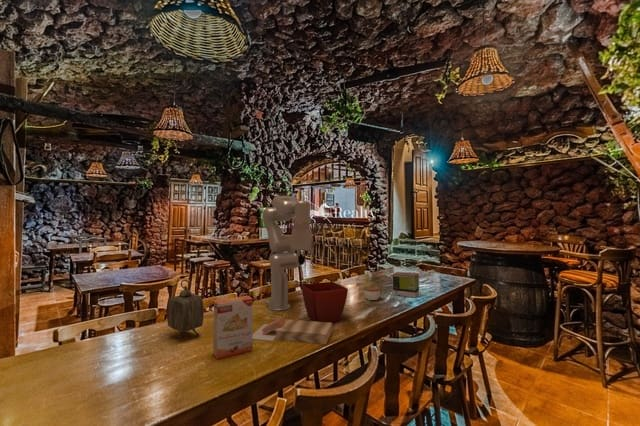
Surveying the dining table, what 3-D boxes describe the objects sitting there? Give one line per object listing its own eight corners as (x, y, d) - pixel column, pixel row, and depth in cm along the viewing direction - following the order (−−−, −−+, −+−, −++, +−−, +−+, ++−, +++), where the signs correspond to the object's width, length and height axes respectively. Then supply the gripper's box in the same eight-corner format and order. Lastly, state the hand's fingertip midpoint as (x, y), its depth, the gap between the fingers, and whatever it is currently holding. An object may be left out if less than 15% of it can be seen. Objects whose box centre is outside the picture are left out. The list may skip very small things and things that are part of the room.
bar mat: (248, 339, 129) (248, 338, 129) (264, 324, 147) (264, 323, 147) (272, 341, 127) (272, 340, 127) (285, 326, 145) (285, 325, 145)
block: (264, 334, 133) (261, 329, 133) (269, 329, 139) (266, 324, 139) (281, 326, 132) (278, 321, 132) (285, 321, 137) (283, 316, 138)
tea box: (419, 295, 201) (419, 273, 202) (415, 298, 193) (415, 275, 193) (397, 292, 209) (397, 271, 210) (392, 295, 201) (392, 273, 201)
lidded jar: (362, 301, 187) (362, 286, 187) (364, 297, 197) (364, 282, 197) (379, 302, 183) (379, 287, 184) (381, 298, 194) (381, 283, 194)
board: (276, 339, 129) (276, 330, 129) (286, 327, 142) (286, 319, 142) (326, 344, 124) (326, 334, 124) (331, 331, 138) (331, 322, 138)
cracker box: (216, 360, 110) (217, 303, 110) (213, 354, 115) (213, 299, 116) (253, 351, 118) (253, 298, 118) (248, 345, 123) (248, 294, 123)
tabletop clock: (203, 336, 132) (203, 280, 132) (184, 343, 125) (184, 283, 125) (184, 329, 140) (185, 276, 141) (165, 336, 133) (166, 279, 133)
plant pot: (332, 311, 167) (332, 281, 168) (348, 322, 150) (348, 288, 150) (300, 315, 160) (300, 284, 160) (313, 327, 142) (313, 292, 143)
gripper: (284, 226, 142) (284, 264, 143) (315, 227, 139) (314, 266, 139) (290, 225, 150) (289, 261, 150) (318, 226, 146) (318, 263, 147)
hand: (301, 264), depth 145 cm, fingers closed
